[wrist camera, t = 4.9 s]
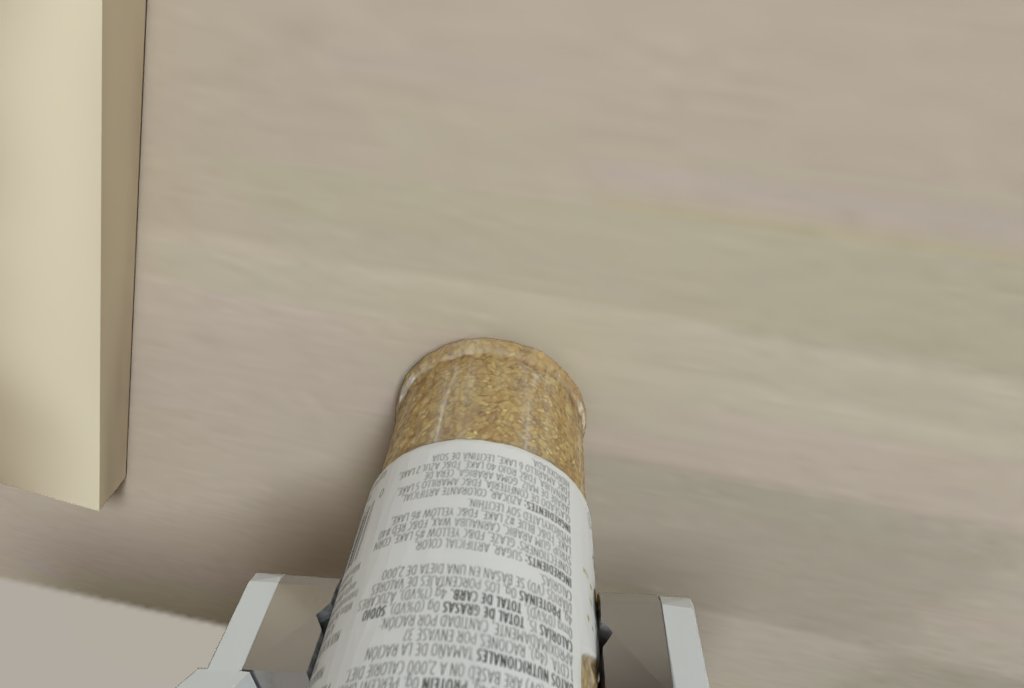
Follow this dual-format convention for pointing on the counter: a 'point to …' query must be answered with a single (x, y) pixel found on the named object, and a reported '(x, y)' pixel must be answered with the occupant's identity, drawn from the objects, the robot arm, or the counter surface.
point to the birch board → (68, 241)
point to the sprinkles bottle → (473, 535)
